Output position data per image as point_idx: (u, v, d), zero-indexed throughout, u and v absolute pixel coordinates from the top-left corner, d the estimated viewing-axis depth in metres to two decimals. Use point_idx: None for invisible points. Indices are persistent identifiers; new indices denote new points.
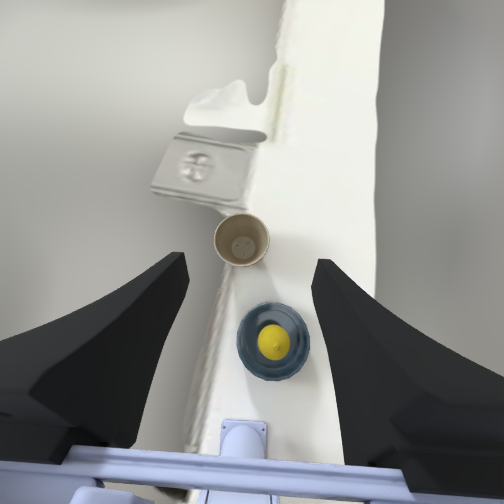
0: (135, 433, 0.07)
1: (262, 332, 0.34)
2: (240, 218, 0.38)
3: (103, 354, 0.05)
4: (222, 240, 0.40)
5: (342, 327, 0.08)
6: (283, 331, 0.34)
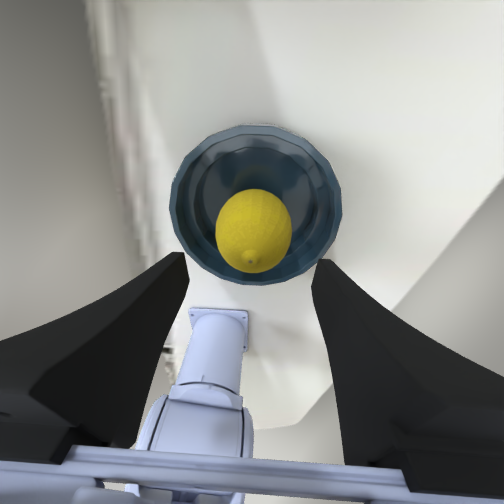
0: (135, 434, 0.07)
1: (222, 214, 0.13)
2: None
3: (103, 354, 0.05)
4: None
5: (342, 327, 0.08)
6: (276, 214, 0.12)
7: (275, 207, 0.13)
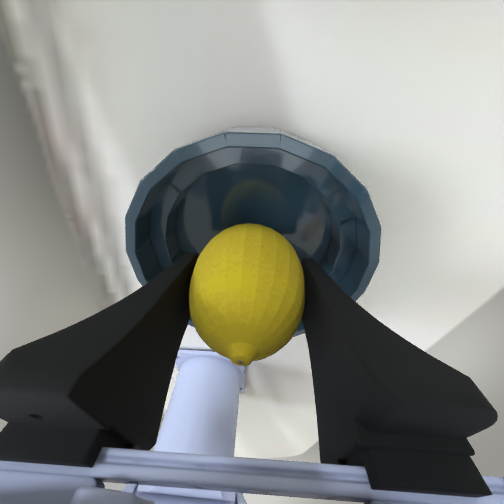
0: (155, 435, 0.07)
1: (197, 270, 0.08)
2: None
3: (130, 356, 0.05)
4: None
5: (320, 326, 0.08)
6: (283, 275, 0.08)
7: (281, 262, 0.08)
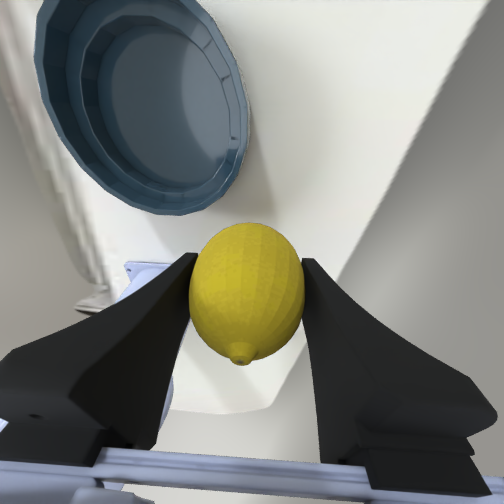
0: (155, 435, 0.07)
1: (197, 269, 0.08)
2: None
3: (130, 356, 0.05)
4: None
5: (320, 326, 0.08)
6: (283, 274, 0.08)
7: (281, 262, 0.08)
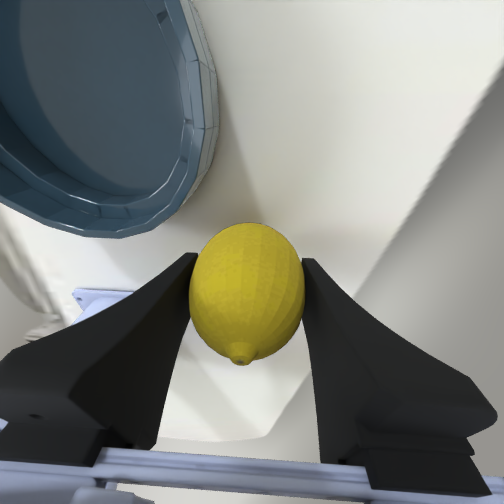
0: (155, 435, 0.07)
1: (197, 269, 0.08)
2: None
3: (130, 356, 0.05)
4: None
5: (320, 326, 0.08)
6: (283, 274, 0.08)
7: (281, 262, 0.08)
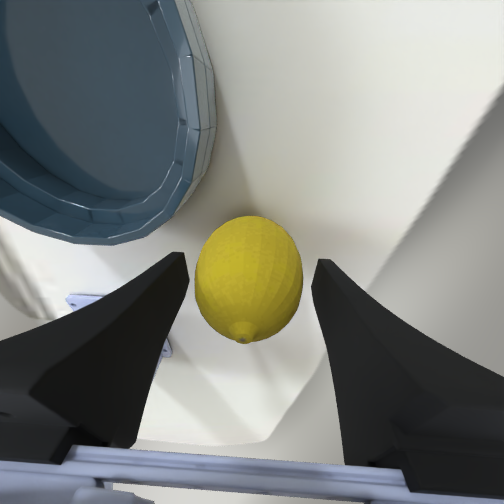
0: (135, 434, 0.07)
1: (202, 257, 0.09)
2: None
3: (103, 354, 0.05)
4: None
5: (342, 327, 0.08)
6: (282, 261, 0.08)
7: (280, 250, 0.09)
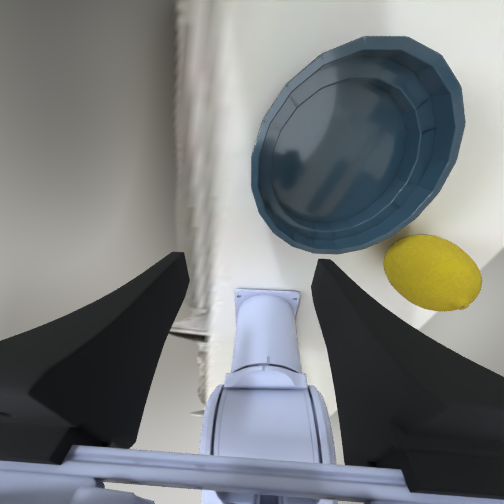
0: (135, 433, 0.07)
1: (417, 261, 0.15)
2: None
3: (103, 354, 0.05)
4: None
5: (342, 327, 0.08)
6: (474, 263, 0.14)
7: (469, 257, 0.15)
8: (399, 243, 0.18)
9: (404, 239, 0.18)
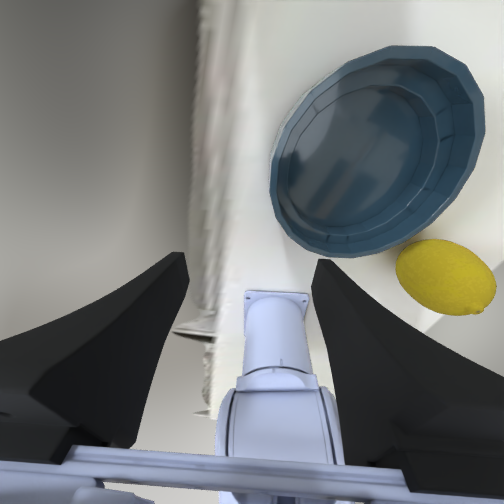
0: (135, 433, 0.07)
1: (431, 266, 0.15)
2: None
3: (103, 354, 0.05)
4: None
5: (342, 327, 0.08)
6: (488, 269, 0.15)
7: (483, 262, 0.15)
8: (412, 247, 0.18)
9: (417, 243, 0.18)
